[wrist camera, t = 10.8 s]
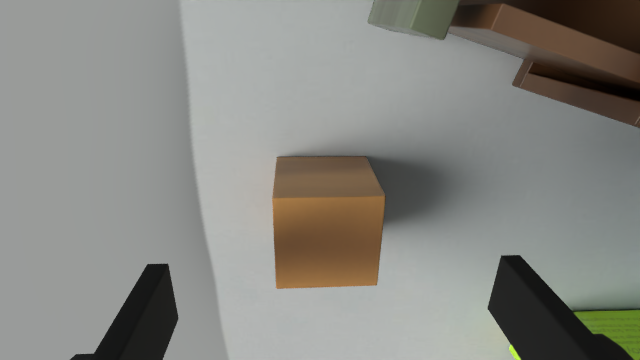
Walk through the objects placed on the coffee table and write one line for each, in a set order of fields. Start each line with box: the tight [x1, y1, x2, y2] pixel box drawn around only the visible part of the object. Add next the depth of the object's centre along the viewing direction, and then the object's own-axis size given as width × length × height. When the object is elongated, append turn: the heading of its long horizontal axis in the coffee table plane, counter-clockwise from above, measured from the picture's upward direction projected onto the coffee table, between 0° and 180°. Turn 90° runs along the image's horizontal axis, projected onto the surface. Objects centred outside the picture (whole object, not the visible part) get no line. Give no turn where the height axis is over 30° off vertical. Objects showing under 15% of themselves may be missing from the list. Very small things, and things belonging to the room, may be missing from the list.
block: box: [272, 156, 386, 289], centre depth 19 cm, size 5×5×5 cm
